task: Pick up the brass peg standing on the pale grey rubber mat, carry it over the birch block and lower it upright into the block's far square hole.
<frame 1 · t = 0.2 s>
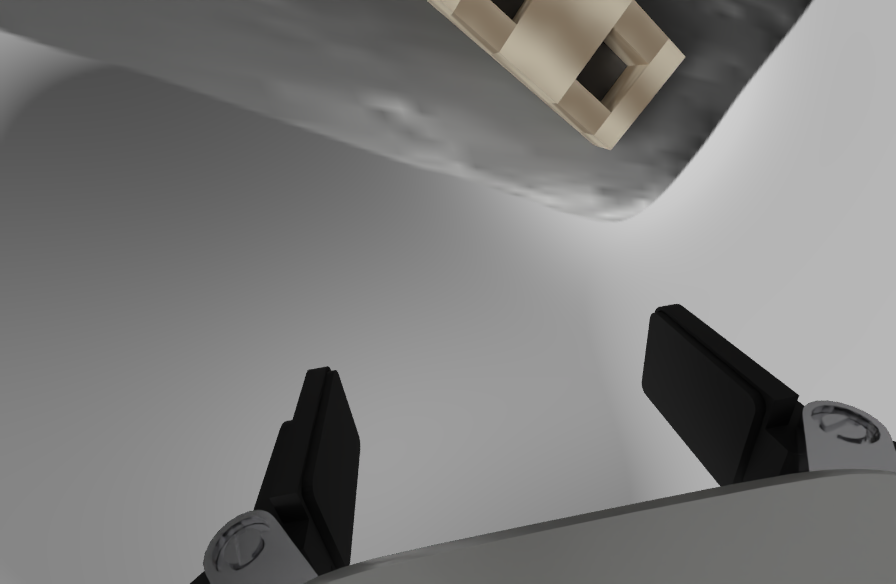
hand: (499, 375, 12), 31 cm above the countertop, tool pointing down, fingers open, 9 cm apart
hole block: (550, 30, 35), on the countertop
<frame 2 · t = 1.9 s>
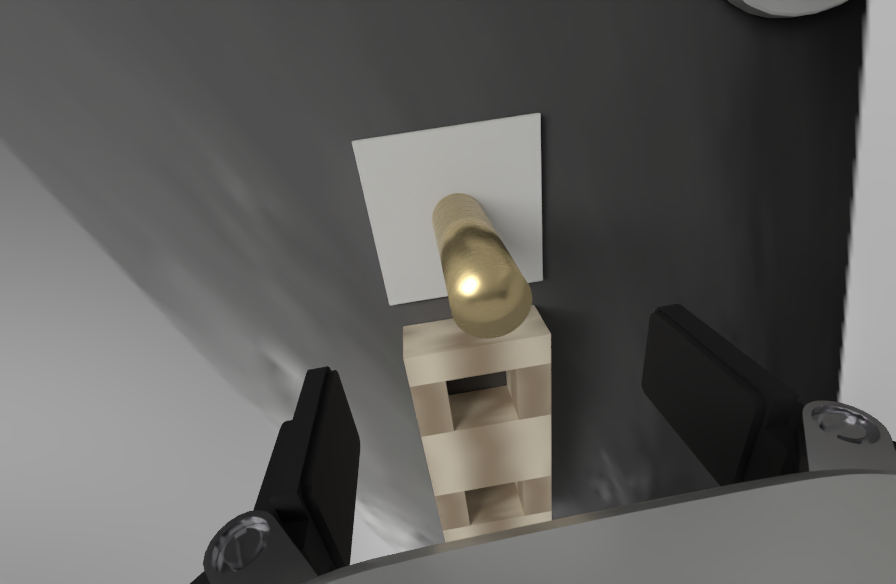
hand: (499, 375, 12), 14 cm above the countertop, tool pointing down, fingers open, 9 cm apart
brass peg: (457, 218, 23), resting on rubber mat
rubber mat: (456, 216, 24), on the countertop
hole block: (481, 420, 32), on the countertop
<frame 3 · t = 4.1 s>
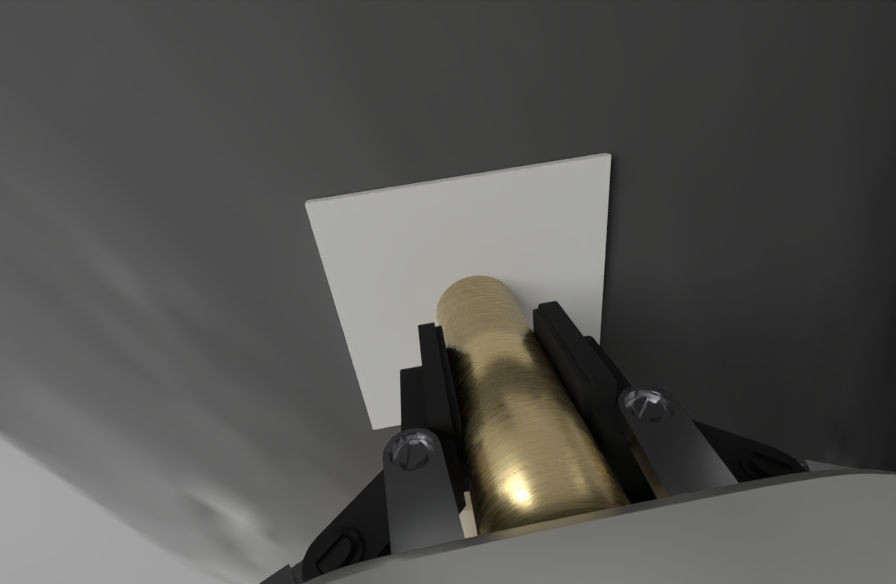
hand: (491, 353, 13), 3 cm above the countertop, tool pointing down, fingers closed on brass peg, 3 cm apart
brass peg: (475, 311, 15), resting on rubber mat, touching gripper
rubber mat: (473, 306, 16), on the countertop
hole block: (502, 554, 24), on the countertop
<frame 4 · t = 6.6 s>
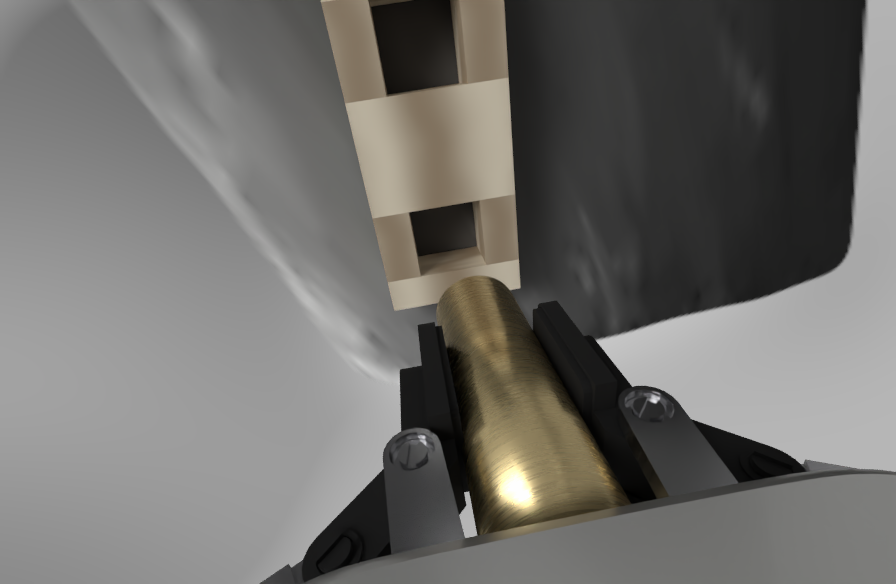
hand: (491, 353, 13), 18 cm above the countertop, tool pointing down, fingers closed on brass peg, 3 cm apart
brass peg: (475, 311, 15), point 15 cm above the countertop, touching gripper
hole block: (431, 143, 26), on the countertop
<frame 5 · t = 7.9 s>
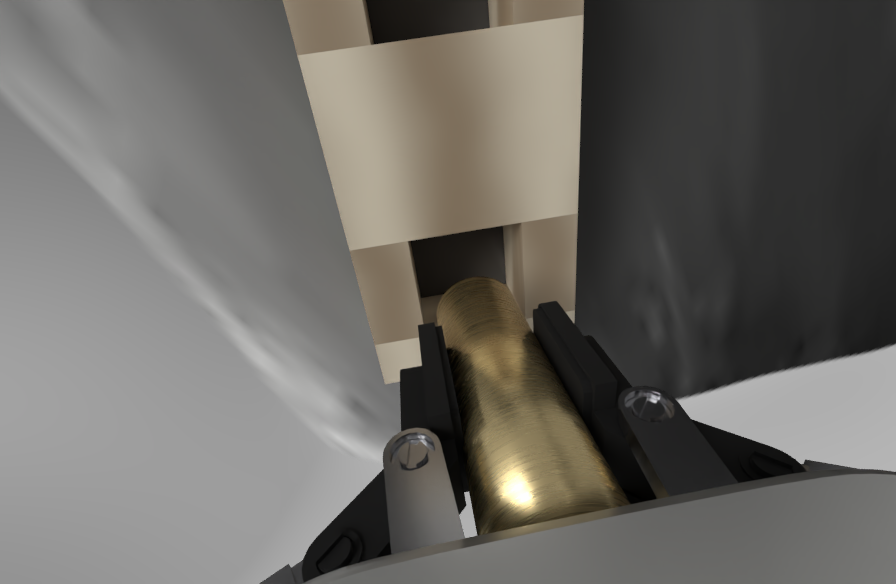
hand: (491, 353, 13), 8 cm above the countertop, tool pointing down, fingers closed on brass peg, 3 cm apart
brass peg: (476, 312, 15), point 5 cm above the countertop, touching gripper
hole block: (444, 132, 17), on the countertop
when the fingers open (5 cm above the countertop, at t = 9.1 s): brass peg drops 2 cm, resting in hole block.
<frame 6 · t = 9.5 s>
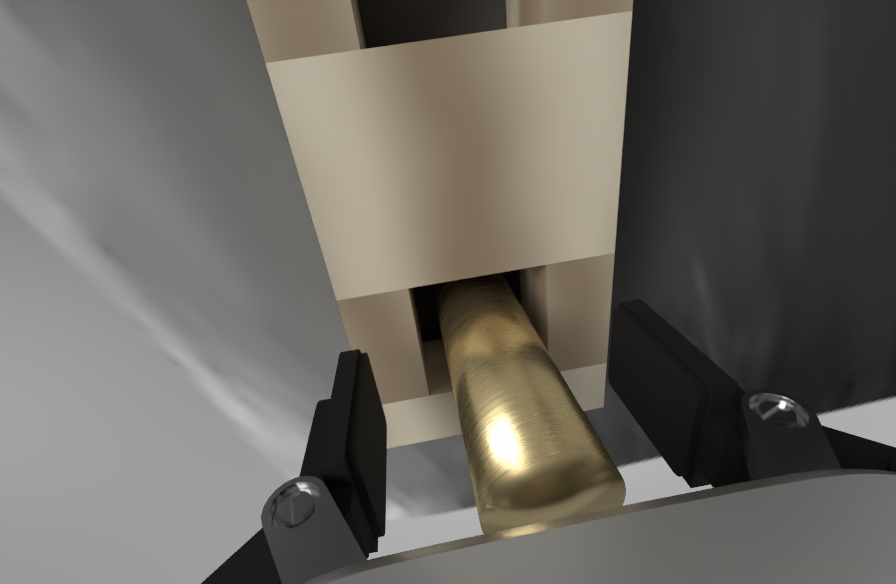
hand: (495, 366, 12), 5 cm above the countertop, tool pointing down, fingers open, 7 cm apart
brass peg: (468, 288, 17), resting in hole block
hole block: (451, 153, 14), on the countertop
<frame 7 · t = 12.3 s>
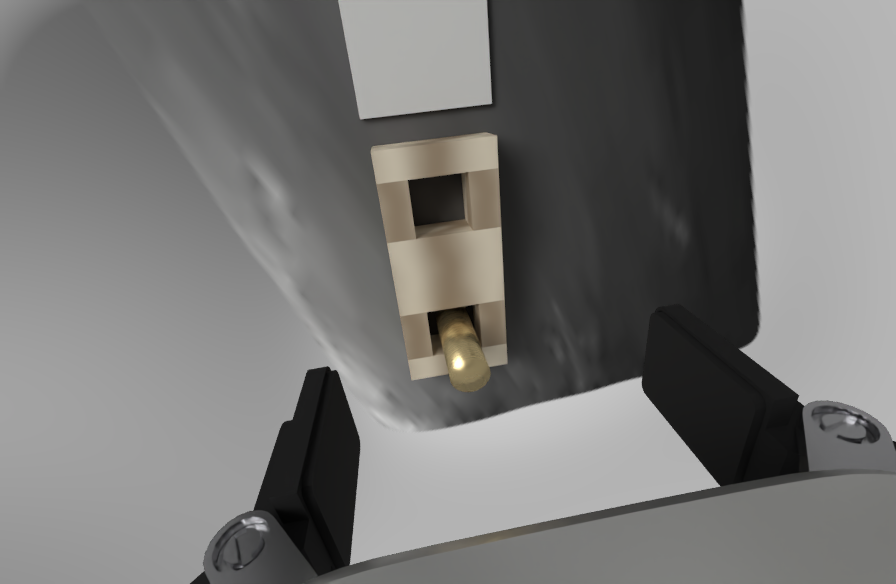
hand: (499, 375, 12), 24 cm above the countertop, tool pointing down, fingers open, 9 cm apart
brass peg: (450, 311, 38), resting in hole block
rubber mat: (417, 33, 28), on the countertop
hole block: (443, 258, 36), on the countertop
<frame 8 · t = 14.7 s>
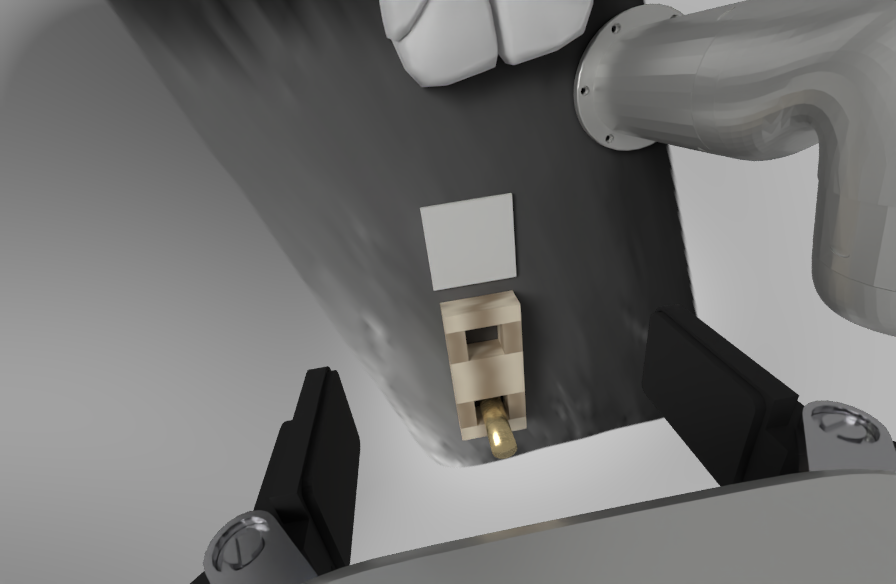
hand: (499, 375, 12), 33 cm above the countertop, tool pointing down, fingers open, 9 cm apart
brass peg: (487, 392, 56), resting in hole block
rubber mat: (470, 243, 46), on the countertop
hole block: (483, 361, 54), on the countertop
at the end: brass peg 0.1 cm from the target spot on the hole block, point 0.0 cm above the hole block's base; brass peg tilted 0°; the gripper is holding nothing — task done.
